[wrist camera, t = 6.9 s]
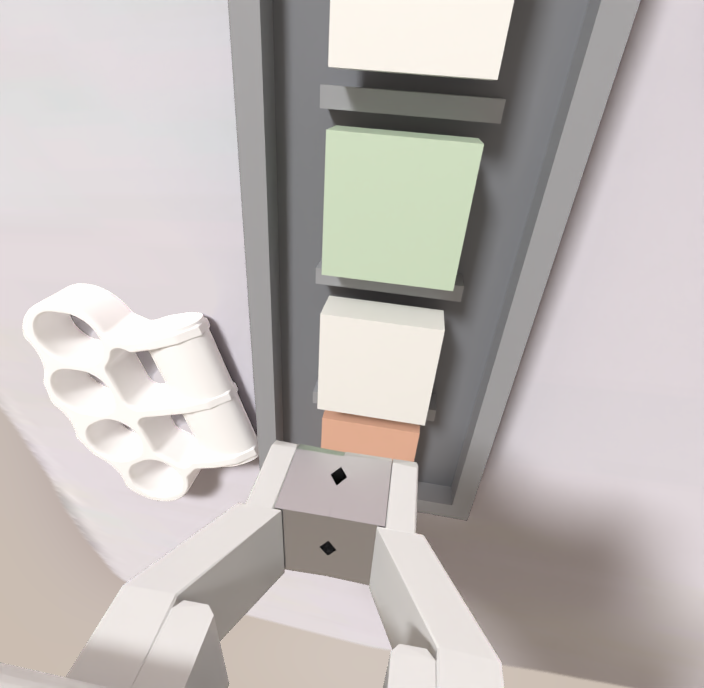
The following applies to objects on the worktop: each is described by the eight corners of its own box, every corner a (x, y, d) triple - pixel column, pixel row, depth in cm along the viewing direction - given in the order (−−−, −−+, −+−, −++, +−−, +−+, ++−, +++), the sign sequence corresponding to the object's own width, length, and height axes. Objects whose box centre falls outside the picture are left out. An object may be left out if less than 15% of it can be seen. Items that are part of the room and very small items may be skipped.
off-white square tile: (443, 310, 20) (444, 330, 19) (425, 401, 23) (424, 425, 22) (329, 295, 21) (320, 313, 19) (325, 385, 24) (317, 408, 22)
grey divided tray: (648, -163, 15) (723, -248, 11) (462, 470, 32) (466, 522, 28) (262, -171, 16) (210, -249, 12) (280, 440, 33) (260, 486, 29)
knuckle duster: (280, 466, 35) (132, 473, 39) (192, 260, 27) (13, 294, 30) (267, 499, 32) (109, 504, 36) (164, 281, 24) (-30, 315, 27)
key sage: (478, 137, 16) (484, 144, 15) (451, 273, 19) (453, 291, 18) (336, 125, 17) (326, 129, 15) (330, 258, 20) (321, 274, 18)
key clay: (420, 410, 26) (419, 433, 24) (407, 474, 29) (406, 498, 27) (329, 396, 26) (322, 417, 24) (325, 460, 29) (319, 483, 27)
